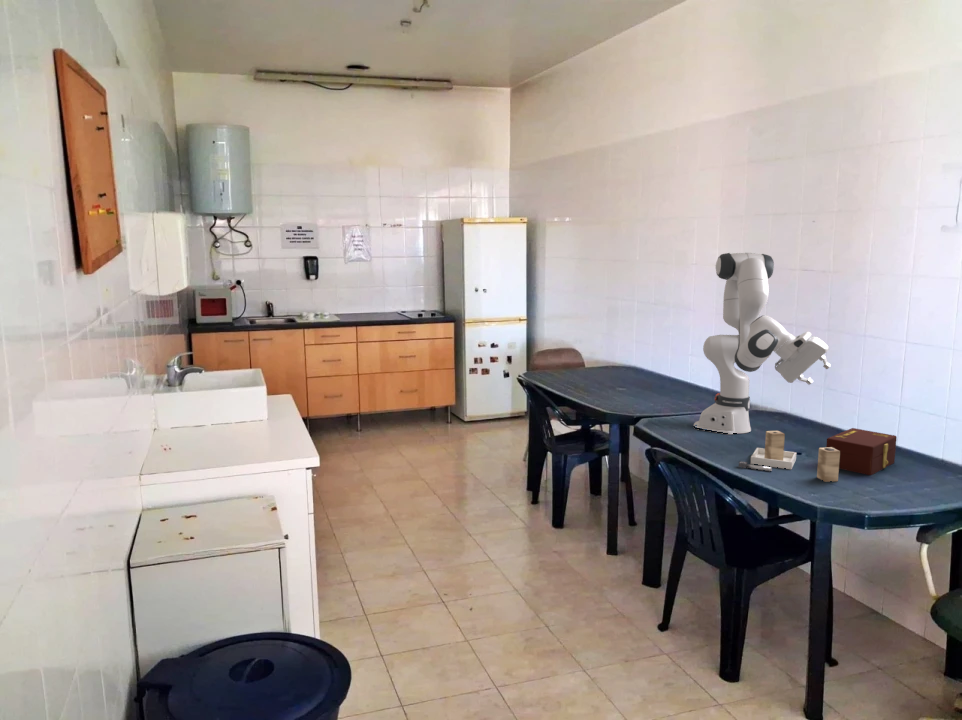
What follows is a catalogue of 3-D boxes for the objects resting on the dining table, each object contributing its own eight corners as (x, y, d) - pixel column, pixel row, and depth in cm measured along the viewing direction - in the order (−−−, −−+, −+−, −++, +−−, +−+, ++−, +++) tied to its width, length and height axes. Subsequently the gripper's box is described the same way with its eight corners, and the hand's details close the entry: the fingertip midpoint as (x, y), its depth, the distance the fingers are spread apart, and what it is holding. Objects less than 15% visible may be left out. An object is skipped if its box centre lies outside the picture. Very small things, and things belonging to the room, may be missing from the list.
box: (875, 477, 240) (877, 447, 238) (824, 465, 252) (826, 437, 250) (899, 464, 253) (901, 436, 252) (849, 454, 265) (852, 427, 264)
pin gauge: (738, 467, 249) (738, 462, 249) (739, 466, 251) (739, 461, 251) (771, 472, 244) (771, 467, 244) (771, 470, 246) (772, 465, 246)
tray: (750, 463, 254) (750, 457, 253) (756, 454, 265) (757, 447, 265) (791, 469, 247) (791, 462, 247) (796, 459, 259) (796, 452, 258)
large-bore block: (816, 477, 239) (818, 447, 237) (829, 476, 240) (831, 447, 238) (824, 481, 235) (827, 451, 233) (837, 481, 235) (840, 451, 234)
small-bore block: (764, 458, 258) (765, 430, 256) (776, 458, 259) (778, 430, 257) (770, 462, 254) (772, 434, 252) (783, 461, 254) (784, 433, 252)
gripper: (768, 369, 273) (798, 395, 270) (805, 334, 259) (836, 361, 255) (775, 363, 277) (804, 388, 274) (811, 328, 263) (842, 355, 259)
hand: (820, 375), depth 264 cm, fingers open, 8 cm apart
